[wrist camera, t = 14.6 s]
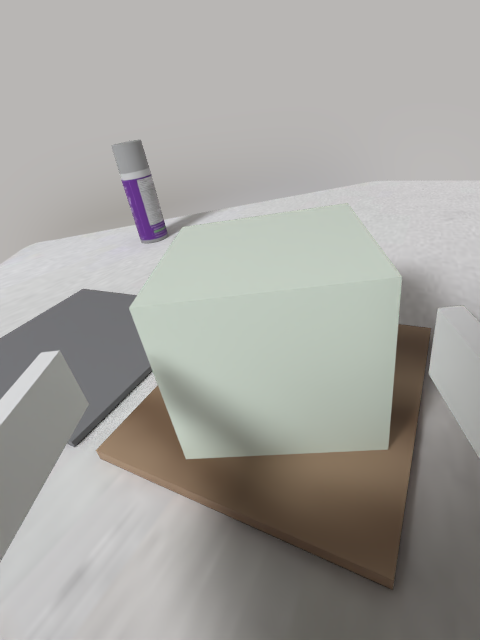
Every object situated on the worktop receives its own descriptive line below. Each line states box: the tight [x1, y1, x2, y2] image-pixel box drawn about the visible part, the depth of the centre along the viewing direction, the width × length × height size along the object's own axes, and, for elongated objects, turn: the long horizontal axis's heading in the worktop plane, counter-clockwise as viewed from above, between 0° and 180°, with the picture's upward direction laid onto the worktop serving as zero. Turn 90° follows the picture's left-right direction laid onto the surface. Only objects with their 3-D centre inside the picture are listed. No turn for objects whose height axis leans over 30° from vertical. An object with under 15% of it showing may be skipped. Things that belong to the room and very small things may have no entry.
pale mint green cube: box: [129, 203, 402, 459], centre depth 21 cm, size 11×11×10 cm
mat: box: [0, 289, 152, 447], centre depth 34 cm, size 18×20×1 cm
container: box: [112, 140, 168, 243], centre depth 57 cm, size 5×5×15 cm
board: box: [96, 324, 431, 590], centre depth 24 cm, size 18×17×1 cm
